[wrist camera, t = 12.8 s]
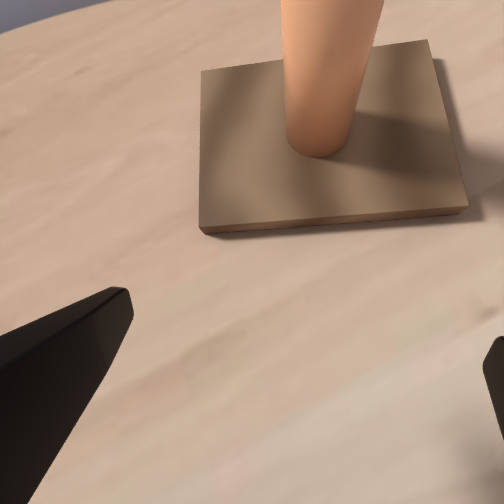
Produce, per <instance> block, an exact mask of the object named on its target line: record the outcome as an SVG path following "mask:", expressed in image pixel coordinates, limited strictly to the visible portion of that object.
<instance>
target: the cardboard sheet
mask: <svg viewBox="0 0 504 504" xmlns="http://www.w3.org/2000/svg"><path fill="white" fill-rule="evenodd" d="M468 206H469V203H468V199H467V195H466V191H465V187H464V183H463V179H462V175H461V171H460V167H459V163H458V159H457V155H456V151H455V147H454V143H453V139H452V135H451V131H450V127H449V123H448V119H447V115H446V111H445V107H444V103H443V99H442V95H441V91H440V87H439V83H438V79H437V75H436V71H435V67H434V63H433V59H432V56H431V52H430V48H429V44H428V40H427V39H426V40H419V41H412V42H405V43H398V44H391V45H383V46H376V47H372V49H371V53H370V56H369V60H368V64H367V68H366V72H365V75H364V79H363V83H362V87H361V91H360V94H359V98H358V102H357V106H356V110H355V113H354V117H353V121H352V125H351V128H350V132H349V136H348V139H347V141H346V143H345V144H344V146H343V147H342V148H341V149H340V150H338V151H337V152H335V153H334V154H332V155H329V156H326V157H320V158H313V157H307V156H304V155H302V154H300V153H298V152H297V151H295V150H294V149H293V148H292V147H291V146H290V144H289V142H288V140H287V136H286V116H285V91H284V66H283V60H276V61H269V62H262V63H255V64H248V65H241V66H234V67H226V68H219V69H212V70H205V71H201V109H200V173H199V228H200V229H201V231H202V232H203V233H204V234H212V233H225V232H238V231H251V230H264V229H277V228H290V227H303V226H316V225H329V224H342V223H355V222H368V221H381V220H394V219H406V218H419V217H432V216H445V215H457V214H459V213H460V212H461V211H463V210H464V209H465V208H467V207H468Z"/></svg>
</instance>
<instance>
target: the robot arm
mask: <svg viewBox="0 0 504 504" xmlns="http://www.w3.org/2000/svg"><path fill="white" fill-rule="evenodd" d="M133 316H134V311H133V306H132V302H131V298H130V294H129V291H128V290H127V289H126V288H122V287H109V288H107V289H105V290H103V291H100V292H98V293H96V294H94V295H91V296H89V297H87V298H85V299H82V300H80V301H78V302H75V303H73V304H71V305H69V306H66V307H64V308H62V309H60V310H57V311H55V312H53V313H51V314H48V315H46V316H44V317H42V318H39V319H37V320H35V321H33V322H30V323H28V324H26V325H24V326H21V327H19V328H17V329H15V330H12V331H10V332H8V333H6V334H3V335H1V336H0V504H28V502H29V501H30V499H31V497H32V496H33V494H34V492H35V491H36V489H37V487H38V486H39V484H40V482H41V481H42V479H43V477H44V476H45V474H46V473H47V471H48V469H49V468H50V466H51V464H52V463H53V461H54V459H55V458H56V456H57V454H58V453H59V451H60V449H61V448H62V446H63V445H64V443H65V441H66V440H67V438H68V436H69V435H70V433H71V431H72V430H73V428H74V426H75V425H76V423H77V421H78V420H79V418H80V416H81V415H82V413H83V412H84V410H85V408H86V407H87V405H88V403H89V402H90V400H91V398H92V397H93V395H94V393H95V392H96V390H97V388H98V387H99V385H100V384H101V382H102V380H103V379H104V377H105V375H106V373H107V372H108V370H109V368H110V366H111V364H112V362H113V360H114V358H115V356H116V354H117V352H118V350H119V348H120V345H121V343H122V341H123V339H124V337H125V335H126V333H127V331H128V329H129V327H130V324H131V322H132V320H133ZM483 373H484V376H485V380H486V383H487V386H488V390H489V393H490V397H491V400H492V403H493V407H494V410H495V414H496V417H497V420H498V424H499V427H500V430H501V433H502V436H503V439H504V336H500V337H497V338H496V339H495V340H494V342H493V344H492V346H491V348H490V350H489V352H488V353H487V355H486V357H485V359H484V361H483Z"/></svg>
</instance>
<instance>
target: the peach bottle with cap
mask: <svg viewBox="0 0 504 504" xmlns="http://www.w3.org/2000/svg"><path fill="white" fill-rule="evenodd" d="M383 3H384V0H281V16H282V41H283V66H284V91H285V116H286V136H287V140H288V142H289V144H290V146H291V147H292V148H293V149H294V150H295V151H297V152H298V153H300V154H302V155H304V156H307V157H313V158H320V157H326V156H329V155H332V154H334V153H335V152H337V151H338V150H340V149H341V148H342V147H343V146H344V144H345V143H346V141H347V139H348V136H349V132H350V128H351V125H352V121H353V117H354V113H355V110H356V106H357V102H358V98H359V94H360V91H361V87H362V83H363V79H364V75H365V72H366V68H367V64H368V60H369V56H370V53H371V49H372V45H373V41H374V38H375V34H376V30H377V26H378V22H379V19H380V15H381V11H382V7H383Z"/></svg>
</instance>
